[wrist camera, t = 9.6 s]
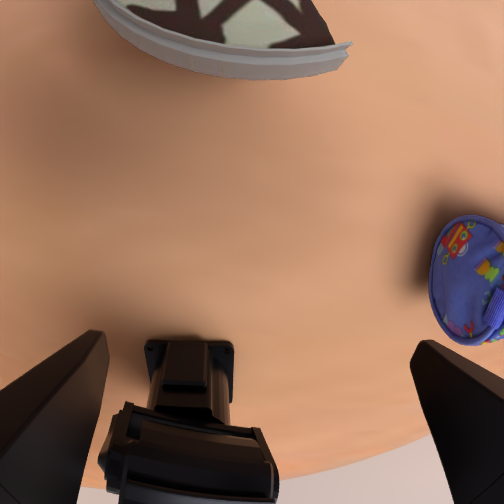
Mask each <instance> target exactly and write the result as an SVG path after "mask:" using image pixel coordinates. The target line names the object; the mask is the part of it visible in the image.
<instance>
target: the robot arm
mask: <svg viewBox="0 0 504 504" xmlns="http://www.w3.org/2000/svg"><path fill="white" fill-rule="evenodd" d="M149 346H152V347H154V348H150V347H149ZM227 348H228V349H229V350H224V349H227ZM144 350H145V356H146V362H147V367H148V372H149V377H150V382H151V387H150V392H149V397H148V402H147V407H146V408H144V407H140V406H136V405H134V403H130V402H127V401H125V405H124V408H123V410H120V411H119V414H115V415H113V417H112V421H111V425H110V428H109V432H108V435H107V437H106V440H105V442H104V444H103V446H102V448H101V451H100V453H99V456H98V464H99V466H100V467H101V469H102V470H103V472H104V473H105V475H104V479H105V480H107V485H106V491H107V492H109V493H113V494H119V503H118V504H276V501H277V498H278V493H279V473H278V469H277V466H276V464H275V461H274V459H273V457H272V455H271V452H270V450H269V448H268V445H267V443H266V441H265V439H264V436H263V434H262V432H261V429H260V428H256V427H251V428H245V427H238V426H231V425H230V409H229V404H230V403H231V402H232V397H233V367H234V346H233V345H232V344H231V343H228V342H185V341H161V340H148V341H146V343H145V346H144ZM108 366H109V351H108V346H107V340H106V335H105V333H104V332H103V331H98V330H88V331H87V332H85V333H84V334H82V335H81V336H79V337H78V338H76V339H75V340H73V341H72V342H70V343H69V344H67V345H66V346H64V347H63V348H61V349H60V350H58V351H57V352H55V353H54V354H52V355H51V356H50V357H48V358H47V359H45V360H44V361H42V362H41V363H39V364H38V365H36V366H35V367H34V368H32V369H31V370H29V371H28V372H26V373H25V374H23V375H22V376H20V377H19V378H18V379H16V380H15V381H13V382H12V383H10V384H9V385H8V386H6V387H5V388H3V389H2V390H0V504H76V503H77V499H78V494H79V490H80V485H81V481H82V477H83V473H84V469H85V465H86V461H87V457H88V453H89V449H90V445H91V442H92V438H93V434H94V431H95V427H96V424H97V421H98V417H99V413H100V409H101V404H102V398H103V392H104V387H105V382H106V376H107V371H108ZM410 370H411V373H412V376H413V380H414V383H415V387H416V390H417V394H418V397H419V401H420V404H421V407H422V410H423V413H424V415H425V418H426V421H427V423H428V426H429V429H430V431H431V434H432V437H433V440H434V443H435V445H436V448H437V451H438V454H439V457H440V460H441V463H442V466H443V468H444V472H445V475H446V478H447V481H448V485H449V488H450V491H451V495H452V498H453V501H454V504H504V379H502V378H501V377H499V376H497V375H495V374H493V373H492V372H490V371H488V370H486V369H484V368H483V367H481V366H479V365H477V364H475V363H474V362H472V361H470V360H468V359H466V358H465V357H463V356H461V355H459V354H457V353H456V352H454V351H452V350H450V349H448V348H447V347H445V346H443V345H441V344H439V343H437V342H436V341H434V340H422V341H420V342H419V343H418V345H417V348H416V350H415V352H414V354H413V356H412V358H411V360H410Z"/></svg>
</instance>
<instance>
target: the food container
mask: <svg viewBox="0 0 504 504" xmlns="http://www.w3.org/2000/svg"><path fill="white" fill-rule="evenodd" d="M93 1H94V4H95V5H96V7H97V8H98V10H99V12H100V13H101V15H102V16H103V18H104V19H105V21H106V22H107V23H108V24H109V25H110V26H111V27H112V28H113V29H114V30H115V31H116V32H117V33H118V34H119V35H120V36H121V37H123V38H124V39H125V40H127V41H128V42H130V43H131V44H133V45H134V46H135V47H137V48H138V49H140V50H141V51H143V52H145V53H147V54H149V55H151V56H154V57H156V58H158V59H160V60H162V61H164V62H166V63H169V64H172V65H175V66H178V67H181V68H184V69H187V70H190V71H193V72H198V73H203V74H208V75H213V76H218V77H222V78H234V79H245V80H286V79H293V78H301V77H309V76H315V75H319V74H322V73H326V72H330V71H334V70H337V69H338V68H339V66H340V65H341V64H342V63H343V62H344V60H345V59H346V58H347V57H348V54H347V52H346V50H345V49H346V48H348V47H349V46H351V45H352V44H353V43H352V41H351V42H345V43H340V44H335V43H334V40H333V38H332V36H331V34H330V32H329V30H328V27H327V24H326V22H325V21H324V20H323V18H322V17H321V16H320V14H319V13H318V11H317V9H316V8H315V6H314V4H313V3H312V1H311V0H93Z"/></svg>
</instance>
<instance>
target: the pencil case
mask: <svg viewBox="0 0 504 504" xmlns="http://www.w3.org/2000/svg"><path fill="white" fill-rule="evenodd" d="M428 287H429V298H430V303H431V307H432V310H433V313H434V315H435V317H436V319H437V321H438V323H439V325H440V326H441V328H442V329H443V331H444V332H445V333H446V334H447V335H448V336H449V338H451V339H452V340H453V341H455V342H457V343H459V344H462V345H466V346H480V345H483V344H486V343H491V342H494V341H497V340H500V339H502V338H504V224H498V223H497V222H495V221H493V220H491V219H489V218H486V217H483V216H479V215H463V216H460V217H457V218H455V219H453V220H452V221H450V222H449V223H448V224H447V225H446V226H445V227H444V228H443V230H442V231H441V233H440V235H439V236H438V238H437V240H436V242H435V245H434V249H433V254H432V259H431V267H430V273H429V283H428Z"/></svg>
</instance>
